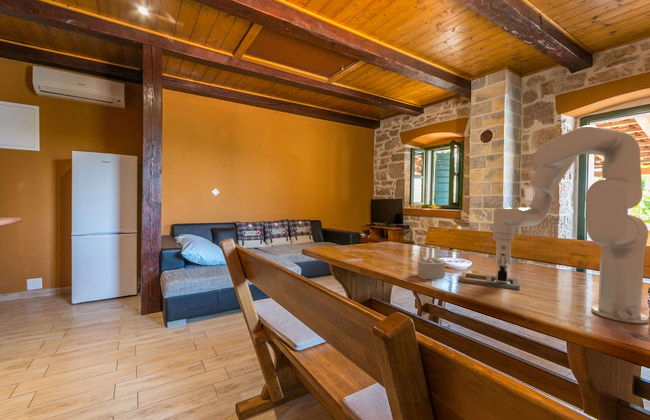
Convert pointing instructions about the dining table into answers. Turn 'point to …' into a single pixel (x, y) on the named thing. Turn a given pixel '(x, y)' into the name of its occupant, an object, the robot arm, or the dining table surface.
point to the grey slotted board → (488, 280)
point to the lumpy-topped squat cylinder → (431, 268)
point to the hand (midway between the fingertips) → (502, 278)
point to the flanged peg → (497, 274)
